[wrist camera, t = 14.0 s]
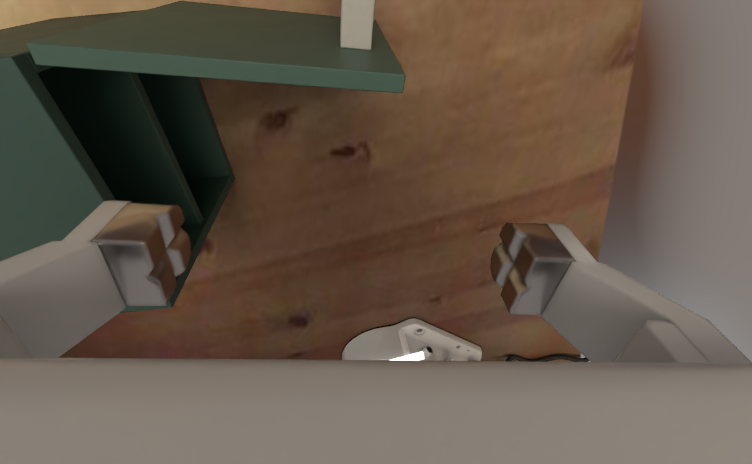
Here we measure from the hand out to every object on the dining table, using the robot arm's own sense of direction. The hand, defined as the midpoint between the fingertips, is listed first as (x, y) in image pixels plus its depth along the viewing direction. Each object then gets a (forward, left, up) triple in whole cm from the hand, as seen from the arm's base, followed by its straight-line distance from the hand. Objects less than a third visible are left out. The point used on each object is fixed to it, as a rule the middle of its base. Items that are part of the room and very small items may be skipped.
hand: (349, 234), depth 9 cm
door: (+6, -3, -25) cm, 26 cm away
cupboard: (+13, +12, -25) cm, 30 cm away
